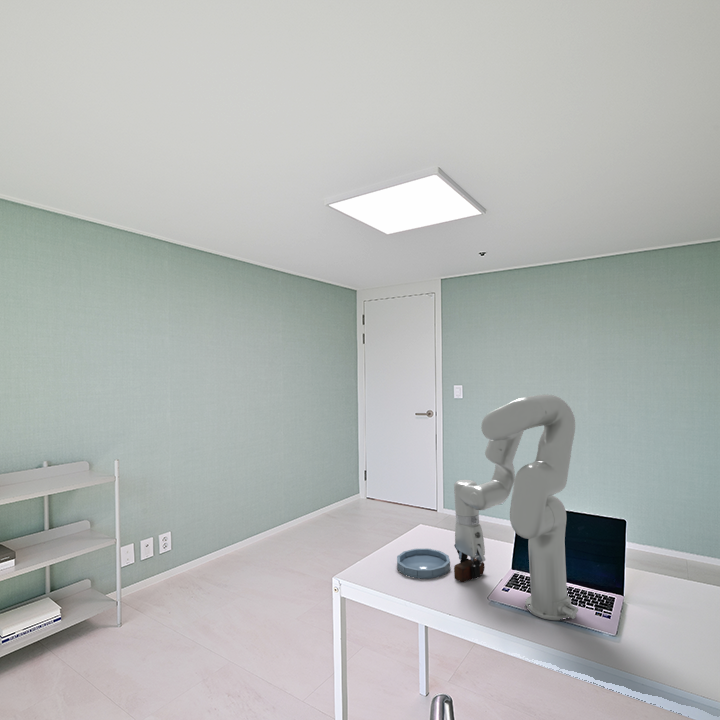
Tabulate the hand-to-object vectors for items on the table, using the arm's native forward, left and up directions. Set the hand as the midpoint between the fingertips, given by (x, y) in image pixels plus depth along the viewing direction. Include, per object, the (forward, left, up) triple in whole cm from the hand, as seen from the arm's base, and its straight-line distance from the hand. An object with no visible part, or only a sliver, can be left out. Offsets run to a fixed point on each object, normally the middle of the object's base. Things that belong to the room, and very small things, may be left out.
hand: (470, 574), depth 151 cm
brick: (0, 0, -1) cm, 1 cm away
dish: (+14, +9, -1) cm, 17 cm away
